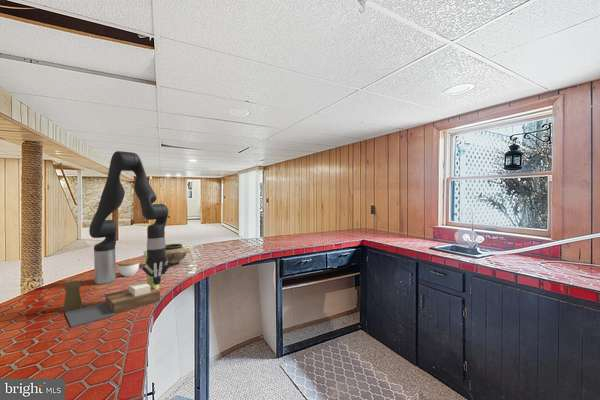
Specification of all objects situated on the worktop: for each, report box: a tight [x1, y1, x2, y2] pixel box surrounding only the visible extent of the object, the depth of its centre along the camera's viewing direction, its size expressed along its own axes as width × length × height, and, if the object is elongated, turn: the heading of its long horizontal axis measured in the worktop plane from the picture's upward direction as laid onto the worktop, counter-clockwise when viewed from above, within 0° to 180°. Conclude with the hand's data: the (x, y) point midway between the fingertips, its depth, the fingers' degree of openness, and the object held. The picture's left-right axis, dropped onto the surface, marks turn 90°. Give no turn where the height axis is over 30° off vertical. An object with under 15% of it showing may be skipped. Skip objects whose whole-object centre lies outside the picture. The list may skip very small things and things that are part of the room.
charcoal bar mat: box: [64, 301, 116, 329], centre depth 103 cm, size 17×13×1 cm
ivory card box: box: [127, 280, 150, 296], centre depth 116 cm, size 9×6×3 cm, turn 48°
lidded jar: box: [116, 258, 140, 277], centre depth 153 cm, size 11×11×9 cm
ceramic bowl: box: [163, 243, 192, 267], centre depth 175 cm, size 24×18×15 cm
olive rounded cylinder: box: [62, 280, 83, 312], centre depth 109 cm, size 6×6×11 cm
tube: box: [143, 250, 160, 290], centre depth 130 cm, size 6×5×20 cm
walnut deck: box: [104, 286, 161, 315], centre depth 114 cm, size 14×17×4 cm
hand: (156, 284), depth 122 cm, fingers closed
